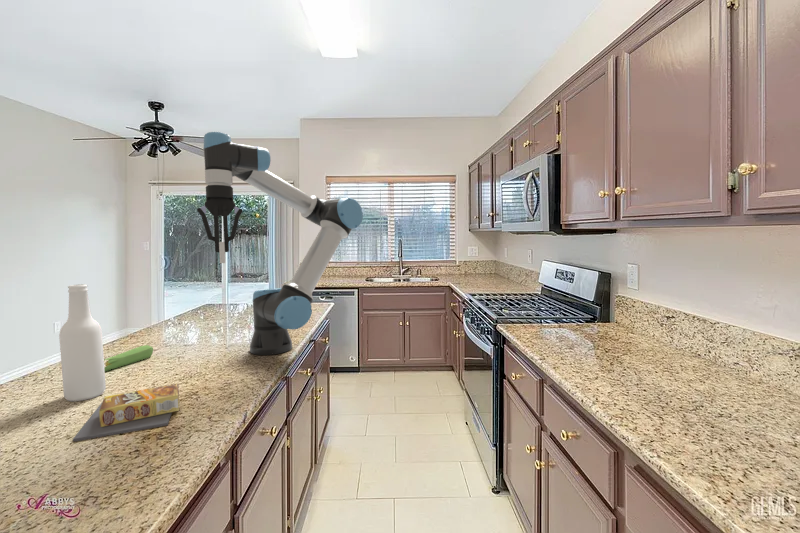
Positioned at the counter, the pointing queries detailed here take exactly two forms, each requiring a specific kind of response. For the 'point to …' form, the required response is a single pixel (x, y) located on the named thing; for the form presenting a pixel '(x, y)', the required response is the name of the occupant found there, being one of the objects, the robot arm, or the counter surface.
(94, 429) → the rubber mat
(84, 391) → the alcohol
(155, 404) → the candy box
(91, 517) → the counter surface
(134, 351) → the edible corn
